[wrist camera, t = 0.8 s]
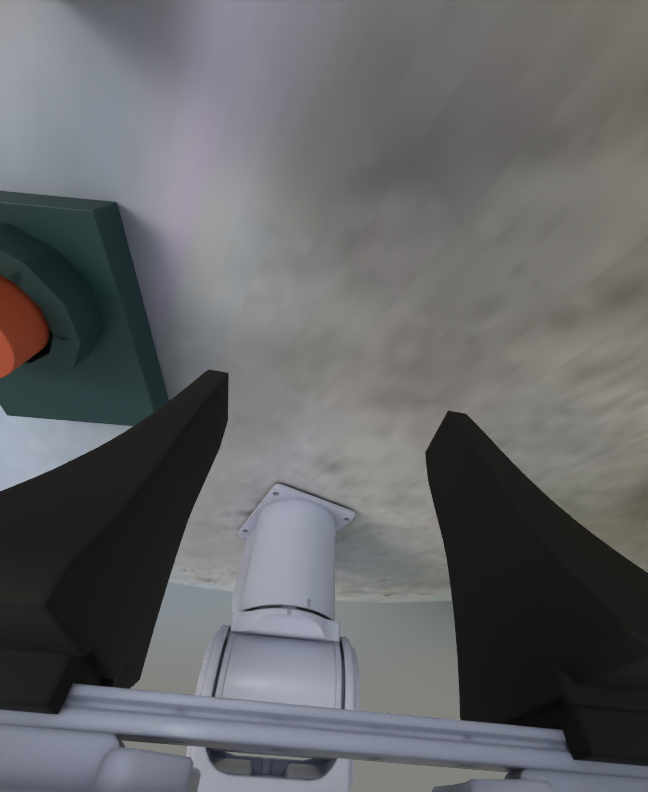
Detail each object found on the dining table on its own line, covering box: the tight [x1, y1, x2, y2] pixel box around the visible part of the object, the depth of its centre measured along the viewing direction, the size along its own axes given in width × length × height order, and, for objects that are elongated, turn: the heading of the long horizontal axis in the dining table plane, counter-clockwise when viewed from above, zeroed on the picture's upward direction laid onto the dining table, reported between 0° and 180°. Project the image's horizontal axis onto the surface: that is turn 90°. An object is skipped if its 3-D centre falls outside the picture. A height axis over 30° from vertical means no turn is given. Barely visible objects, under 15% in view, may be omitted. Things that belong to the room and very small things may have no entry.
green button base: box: [0, 191, 169, 426], centre depth 19 cm, size 13×10×4 cm
